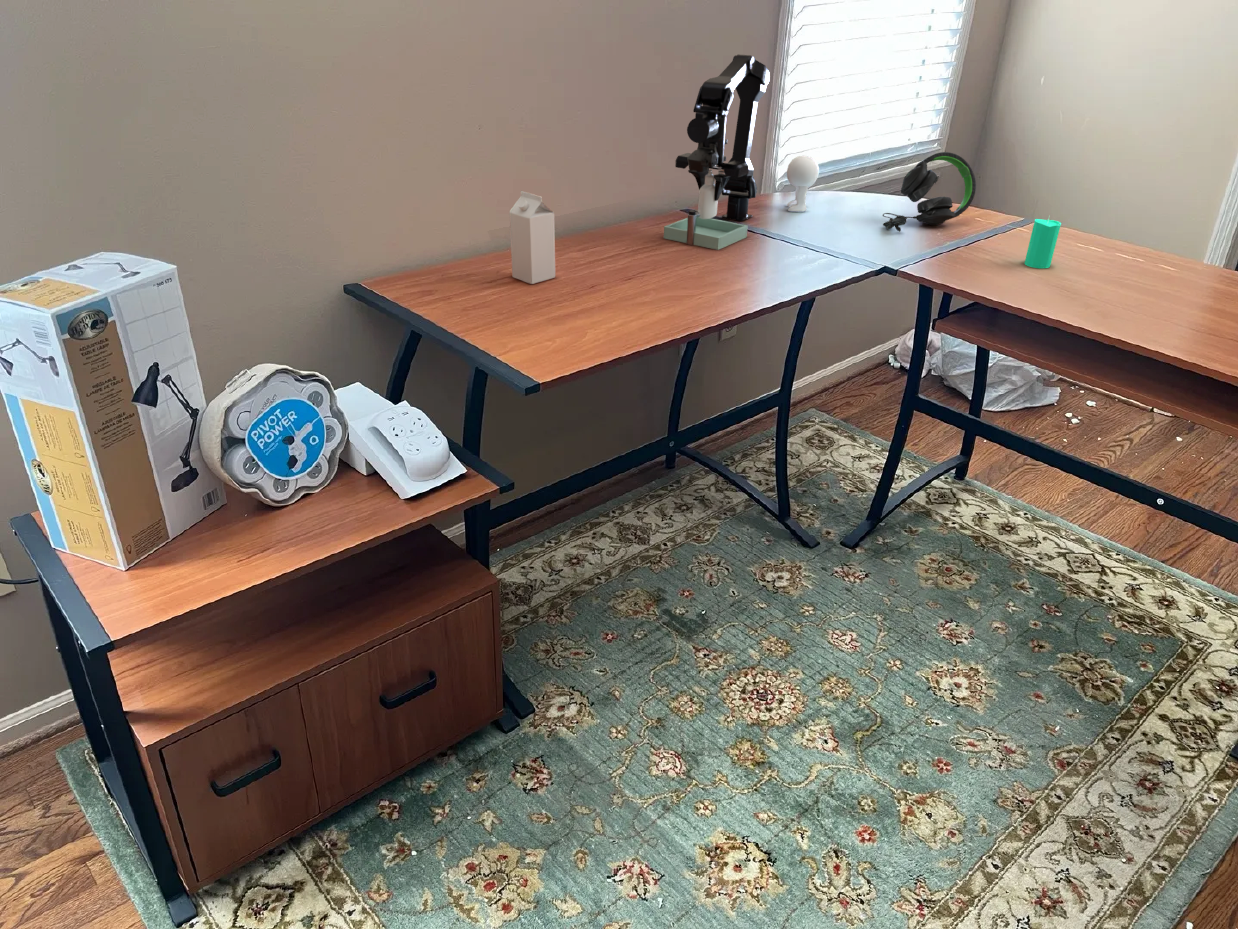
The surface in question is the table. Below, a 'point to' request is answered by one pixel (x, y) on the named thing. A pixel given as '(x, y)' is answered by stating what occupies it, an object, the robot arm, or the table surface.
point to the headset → (921, 183)
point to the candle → (1042, 243)
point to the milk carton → (532, 239)
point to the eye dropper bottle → (707, 198)
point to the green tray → (707, 232)
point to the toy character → (801, 180)
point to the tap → (691, 226)
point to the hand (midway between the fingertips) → (709, 199)
